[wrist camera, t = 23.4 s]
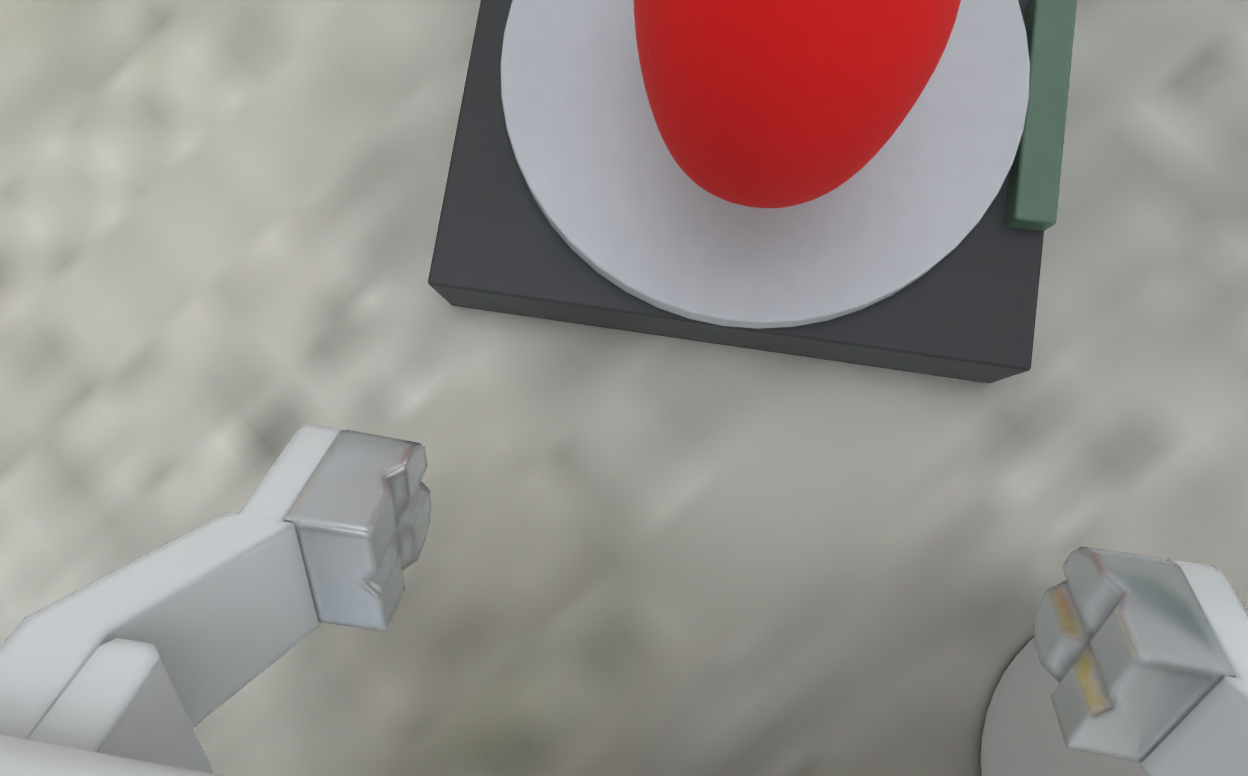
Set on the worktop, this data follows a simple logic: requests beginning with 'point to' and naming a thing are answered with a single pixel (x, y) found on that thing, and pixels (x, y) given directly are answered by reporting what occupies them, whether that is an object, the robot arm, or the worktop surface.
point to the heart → (784, 87)
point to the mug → (1035, 729)
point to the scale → (759, 237)
